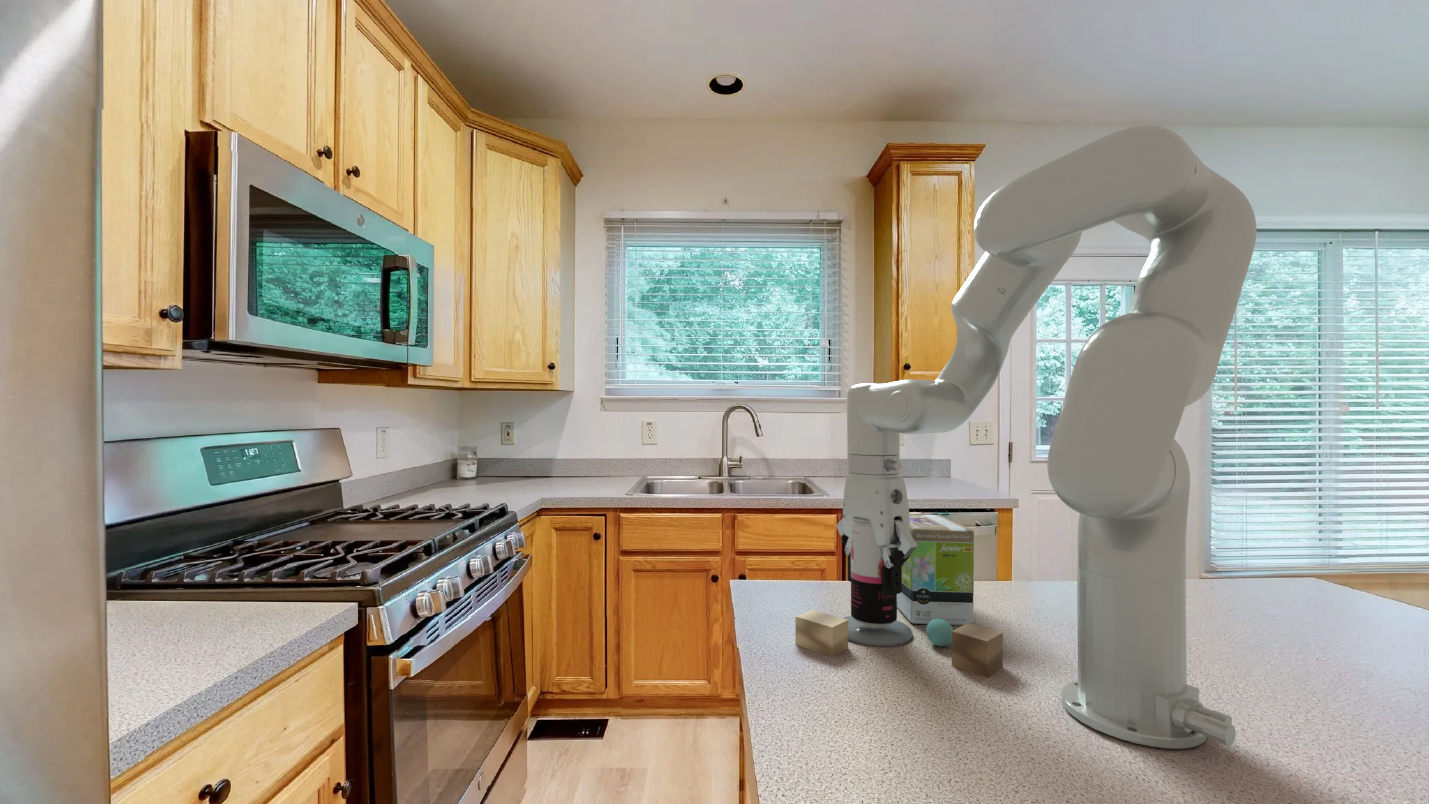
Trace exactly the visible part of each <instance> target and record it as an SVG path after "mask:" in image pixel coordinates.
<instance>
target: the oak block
mask: <svg viewBox="0 0 1429 804" xmlns="http://www.w3.org/2000/svg"><path fill="white" fill-rule="evenodd" d="M843 618H844V617H839V616H836V615H833V614H829V613H825V612H822V611H819V610H815V609H810V610H807V611H806V612H803V613H801V614H799V615H796V616H795V645H797V646H800V647H801V648H806V649H808V650H811V651H814V652H818V653H820V654H823V655H826V656H829V657H831V658H833V657H835V656H837V655H838V654H840V653H842V652H844V651H845V650H848V649H849V640H848V620H847V619H843Z"/></svg>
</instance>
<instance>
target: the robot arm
mask: <svg viewBox="0 0 1429 804" xmlns="http://www.w3.org/2000/svg"><path fill="white" fill-rule="evenodd" d="M1109 222H1114V223H1116V224H1118V225H1120V226H1121V227H1122V228H1125V229H1126V230H1129V231H1131V232H1133V233H1135V234H1137V235H1140V236H1142V237H1143V238H1145V239H1147V241H1148V242H1149V246H1150V247H1149V248H1150V249H1149V254H1148V256H1147V258H1146V260H1145V262H1144V264H1143V267H1142V268H1141V270H1140V272H1139V275H1138V277H1137V281H1136V283H1135V287H1134V292H1133V296H1132V299H1131V301H1130V305H1129V308H1128V310H1127V312H1126V314H1122V315H1120V316H1117V317H1115V318H1112V319H1110V320H1108V321H1106V322H1105V323H1103V324H1102V325H1100V326H1099V327H1098V328H1097V329H1096V330H1094V331H1093V333H1091V335H1090V336H1089V337H1088V339H1086V342H1085V343H1084V344H1083V346H1082V348H1081V350H1080V351H1079V353H1078V355H1077V358H1076V360H1075V364H1074V366H1073V368H1072V369H1073V370H1072V372H1071V375H1070V378H1069V382H1068V385H1067V389H1066V392H1065V396H1064V398H1063V402H1062V405H1061V408H1060V410H1059V411H1060V412H1059V415H1058V418H1057V421H1056V423H1055V424H1056V425H1055V428H1054V431H1053V435H1052V438H1051V442H1050V445H1049V449H1048V454H1047V464H1046V465H1047V466H1046V467H1047V476H1048V480H1049V483H1050V485H1051V487H1052V490H1053V491H1054V493H1055V495H1056V496H1057V497H1058V498H1059V500H1061V501H1062V502H1063V503H1064V504H1065V505H1066V506H1067V507H1069V508H1070V509H1072V510H1073V511H1074V512H1077V513H1079V518H1078V524H1077V536H1076V539H1077V541H1076V574H1077V575H1076V576H1077V577H1076V581H1077V582H1076V583H1077V585H1076V587H1077V588H1076V595H1077V596H1076V598H1077V600H1076V601H1077V606H1076V607H1077V608H1076V610H1077V614H1076V616H1077V617H1076V618H1077V680H1075V681H1072V682H1069V683H1067V684H1066V685H1065V686H1063V688H1062V690H1061V703H1062V705H1063V707H1064V709H1065V710H1066V711H1067V713H1069V714H1070V715H1072V717H1074V718H1075V719H1077V720H1078V721H1080V722H1081V723H1083V724H1084V725H1086V726H1088V727H1089V728H1091V729H1094V730H1095V731H1098V732H1100V733H1102V734H1105V735H1107V736H1111V737H1113V738H1116V739H1119V740H1121V741H1126V742H1129V743H1133V744H1137V745H1141V746H1146V747H1152V748H1157V749H1158V748H1159V749H1170V750H1171V749H1172V750H1173V749H1174V750H1179V749H1190V748H1194V747H1198V746H1200V745H1201V744H1203V743H1205V741H1206V740H1207V738H1208V739H1210V740H1212V741H1215V742H1217V743H1219V744H1222V745H1224V746H1227V747H1232V745H1233V744H1234V742H1235V739H1236V736H1237V735H1236V733H1237V732H1236V728H1235V726H1234V725H1233V721H1232V717H1231V716H1230V715H1228V714H1225V713H1223V712H1221V711H1218V710H1214V709H1210V708H1207V707H1205V706H1204V705H1203V703H1202V702H1200V695H1199V694H1200V689H1199V688H1198V687H1196V686H1193V685H1190V684H1188V683H1187V682H1188V680H1187V679H1188V678H1187V677H1188V676H1187V673H1188V671H1187V661H1188V660H1187V600H1186V599H1187V589H1186V587H1187V582H1186V580H1187V525H1188V514H1189V513H1188V511H1189V503H1190V490H1191V489H1190V488H1191V474H1190V473H1191V472H1190V467H1189V462H1188V459H1187V455H1186V453H1185V452H1184V449H1183V448H1182V447H1181V445H1180V444H1179V442H1178V441H1177V440H1176V439H1175V437H1176V434H1177V433H1178V432H1177V431H1178V429H1179V426H1180V424H1181V423H1180V422H1181V421H1182V417H1183V415H1184V412H1185V409H1186V407H1189V406H1191V405H1192V404H1194V403H1196V402H1197V401H1198V400H1200V399H1202V398H1203V396H1205V395H1206V393H1207V392H1208V391H1209V390H1210V388H1211V386H1212V384H1213V383H1214V380H1215V378H1216V374H1217V371H1218V366H1219V363H1220V359H1221V355H1222V353H1223V350H1224V349H1223V348H1224V346H1225V344H1226V343H1225V342H1226V340H1227V337H1228V333H1229V331H1230V328H1231V325H1232V323H1233V319H1234V316H1235V313H1236V310H1237V307H1238V303H1239V299H1240V296H1241V293H1242V289H1243V286H1244V283H1245V280H1246V277H1247V275H1248V274H1247V273H1248V271H1249V268H1250V264H1251V262H1252V257H1253V254H1254V250H1255V245H1256V240H1257V220H1256V216H1255V211H1254V209H1253V206H1252V205H1251V203H1250V201H1249V200H1248V198H1247V197H1246V195H1245V193H1244V192H1242V191H1241V189H1240V188H1239V187H1237V186H1236V185H1235V183H1232V182H1231V181H1230V180H1228V179H1227V178H1225V177H1223V176H1222V175H1221V174H1219V173H1217V172H1215V171H1214V170H1212V169H1211V168H1210V167H1209V166H1207V165H1206V164H1204V163H1203V161H1202V159H1200V158H1199V156H1198V155H1197V154H1196V153H1195V152H1194V151H1193V149H1192V148H1191V147H1190V145H1188V143H1187V141H1186V140H1184V138H1183V137H1181V136H1180V135H1179V134H1178V133H1176V132H1175V131H1173V130H1172V129H1169V128H1166V127H1164V126H1161V125H1153V124H1145V125H1144V124H1143V125H1142V124H1141V125H1134V126H1129V127H1125V128H1123V129H1120V130H1119V129H1118V130H1116V131H1114V132H1113V131H1112V132H1111V133H1109V134H1106V135H1104V136H1102V137H1100V138H1097V139H1095V140H1093V141H1090V142H1089V143H1087V144H1085V145H1082V146H1081V147H1078V148H1075V149H1074V150H1071V151H1070V152H1068V153H1066V154H1063V155H1060V156H1059V157H1057V158H1055V159H1052V160H1050V161H1048V162H1046V163H1044V164H1041V165H1039V166H1038V167H1034V168H1033V169H1031V170H1029V171H1027V172H1025V173H1023V174H1022V175H1019V176H1017V177H1015V178H1013V179H1012V180H1010V181H1008V182H1007V183H1005V184H1004V185H1002V186H1000V187H999V188H997V189H996V190H995V191H994V192H993V193H992V194H990V195H989V196H988V197H987V199H985V200H984V201H983V203H982V204H981V205H980V207H979V209H978V211H977V213H976V215H975V219H974V222H973V234H974V238H975V241H976V243H977V245H978V246H979V247H980V248H981V250H983V252H984V253H983V255H982V256H981V257H980V259H979V260H978V262H977V263H976V264H975V266H974V268H973V269H972V271H971V273H970V274H969V276H968V277H967V279H966V280H965V282H964V283H963V285H962V286H961V287H960V289H959V290H958V291H957V293H956V295H955V296H954V298H953V299H952V302H951V305H950V310H951V314H952V316H953V320H954V322H955V326H956V329H957V330H956V331H957V332H956V333H957V338H956V343H955V347H954V350H953V352H952V353H951V356H950V358H949V360H948V361H947V363H946V364H945V366H944V367H943V369H942V370H941V372H940V373H939V374H938V376H936V378H935V380H932V379H931V380H930V379H911V378H910V379H901V380H897V381H891V382H887V383H885V382H881V383H879V382H876V383H875V382H870V383H867V382H865V383H858V384H854V385H852V386H850V387H849V388H848V391H847V394H846V395H847V397H846V403H847V404H846V405H847V406H846V416H847V417H846V420H847V421H846V422H847V423H846V425H847V427H846V428H847V432H846V435H847V437H846V439H847V442H846V443H847V447H846V448H847V450H846V451H847V455H846V456H847V458H846V459H847V460H846V461H847V463H846V464H847V466H846V467H847V474H846V477H845V481H844V482H845V483H844V489H843V490H844V491H843V501H842V518H841V519H840V520H839V521H838V523H837V524H836V528H837V531H838V534H839V536H840V539H841V542H842V543H843V545H844V547H845V548H844V552H845V553H844V554H845V555H847V581H848V582H850V583H851V521H852V517H854V518H856V519H859V520H866V521H871V523H870V524H871V525H872V526H873V531H874V538H875V544H876V545H877V546H879V547H881V553H882V556H883V560H884V563H885V566H884V567H882V594H883V595H885V596H889V595H894V594H900V593H901V592H902V566H904V565H905V562H906V561H907V560H908V558H909V557H910V554H912V552H913V551H914V550H915V549H916V547H917V544H916V542H915V540H914V539H913V538H912V536H911V535H910V517H909V514H910V506H909V499H908V492H907V488H906V483H905V482H906V481H905V479H904V477H901V474H900V473H901V471H900V470H902V467H903V464H902V462H901V460H900V459H901V458H900V455H901V454H900V453H901V451H900V447H901V446H900V444H901V443H900V434H904V435H905V434H906V435H919V434H921V435H922V434H924V435H925V434H939V433H940V434H941V433H942V434H943V433H949V432H952V431H954V430H956V429H958V428H959V427H960V426H962V425H963V424H964V423H965V422H966V421H967V420H968V419H969V418H970V417H971V416H972V415H973V413H974V412H975V411H976V410H977V408H978V407H979V406H980V405H981V403H982V401H984V400H985V398H986V396H987V395H988V394H989V392H990V391H991V389H992V388H993V386H994V385H995V384H996V382H997V380H998V377H999V375H1000V373H1001V370H1002V369H1003V368H1002V367H1003V365H1004V362H1005V360H1006V357H1007V354H1008V351H1009V347H1010V342H1011V339H1012V337H1013V336H1014V334H1015V332H1016V331H1017V330H1018V329H1019V327H1020V326H1021V324H1022V323H1023V321H1025V319H1026V317H1027V316H1028V314H1029V313H1030V312H1031V310H1032V309H1033V307H1034V306H1035V305H1036V304H1037V303H1038V301H1039V300H1040V298H1041V297H1042V295H1043V294H1044V293H1045V291H1046V290H1047V289H1048V288H1049V286H1050V285H1051V283H1052V282H1053V281H1054V280H1055V278H1056V277H1057V276H1058V275H1059V273H1060V271H1061V270H1062V269H1063V267H1064V266H1065V264H1066V263H1067V262H1068V260H1069V259H1070V258H1072V257H1071V256H1073V254H1074V252H1075V251H1076V249H1077V247H1078V245H1079V244H1080V241H1081V237H1082V233H1083V232H1084V231H1087V230H1090V229H1092V228H1096V227H1098V226H1101V225H1104V224H1107V223H1109ZM890 538H894V543H893V544H890ZM900 545H901V547H900ZM889 549H893V552H894V554H893V555H892V557H891V554H890V551H889Z"/></svg>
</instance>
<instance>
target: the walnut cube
mask: <svg viewBox="0 0 1429 804" xmlns="http://www.w3.org/2000/svg"><path fill="white" fill-rule="evenodd" d="M1003 636H1004V635H1003V632H1002V631H998V630H994V629H992V628H987V627H984V626H980V625H976V624H973V623H972V624H970V623H967V624H965V625H960V627H958V628H955V629H953V631H952V642H951V666H952V667H955V668H956V669H957V668H958V669H960V670H963V671H965V672H969V673H972V674H975V675H978V676H981V677H984V678H986V679H987V678H989V677H991V676H992V675H994V674H995V673H996V672H998V671H1000V670H1001V669H1003V667H1004V648H1003V647H1004V646H1003V645H1004V643H1003V642H1004V639H1003V638H1004V637H1003Z"/></svg>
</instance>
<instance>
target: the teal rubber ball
mask: <svg viewBox="0 0 1429 804" xmlns="http://www.w3.org/2000/svg"><path fill="white" fill-rule="evenodd" d="M953 630H954V629H953V626H952V625H950V624H949V623H948V622H947V621H945V620H943V619H934V620H932V621H930V622H929V624H926V629H925V634H926V636H927V639H928V640H929V642H931V643H932V644H933V645H934V646H938V647H946V646H948V645H950V644H952V631H953Z"/></svg>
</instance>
